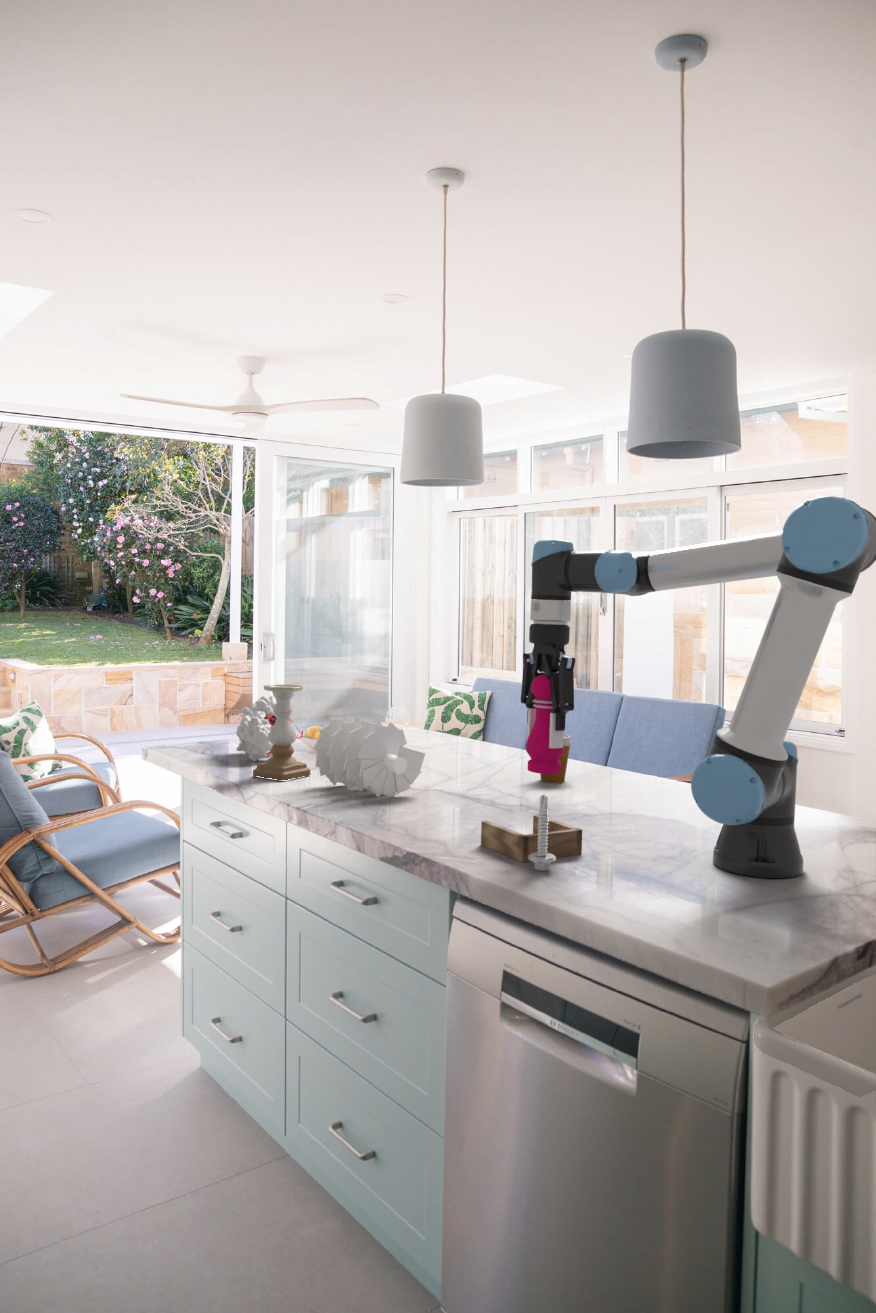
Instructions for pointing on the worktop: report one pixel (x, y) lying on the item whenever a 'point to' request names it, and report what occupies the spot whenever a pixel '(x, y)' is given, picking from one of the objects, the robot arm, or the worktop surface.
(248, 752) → the protein dna model
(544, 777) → the disposable coffee cup
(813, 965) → the worktop surface
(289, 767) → the candle holder
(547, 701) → the pepper mill
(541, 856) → the screw
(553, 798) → the worktop surface
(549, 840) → the u rest
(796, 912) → the worktop surface
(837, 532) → the robot arm
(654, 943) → the worktop surface
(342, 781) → the spiral staircase
